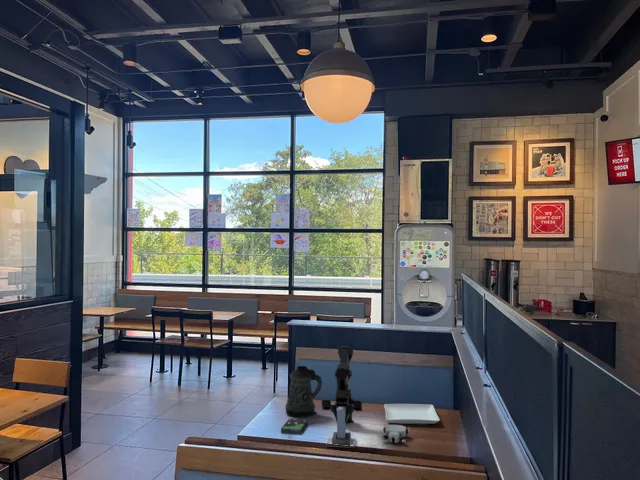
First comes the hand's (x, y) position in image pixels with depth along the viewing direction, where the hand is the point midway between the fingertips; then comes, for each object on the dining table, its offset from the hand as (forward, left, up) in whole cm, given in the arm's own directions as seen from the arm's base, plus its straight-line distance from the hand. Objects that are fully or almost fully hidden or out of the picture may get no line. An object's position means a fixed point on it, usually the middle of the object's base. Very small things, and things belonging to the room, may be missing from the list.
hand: (341, 422), depth 213 cm
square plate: (-51, -15, -11) cm, 55 cm away
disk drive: (+10, -30, -11) cm, 34 cm away
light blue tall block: (-1, -1, -7) cm, 7 cm away
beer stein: (-5, -52, -10) cm, 53 cm away
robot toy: (-26, +6, -10) cm, 29 cm away
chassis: (-1, -1, -10) cm, 10 cm away
